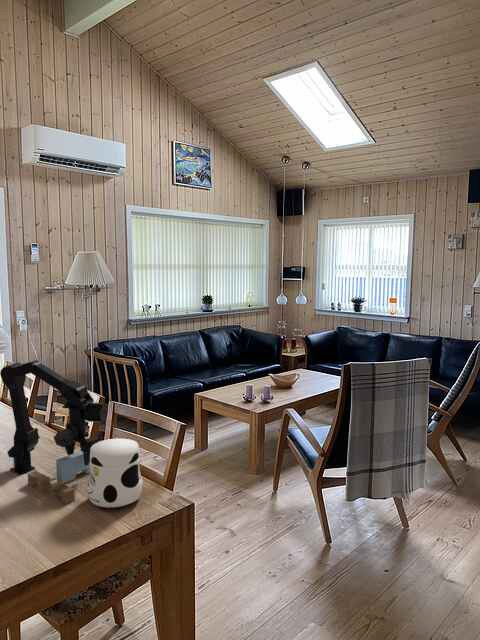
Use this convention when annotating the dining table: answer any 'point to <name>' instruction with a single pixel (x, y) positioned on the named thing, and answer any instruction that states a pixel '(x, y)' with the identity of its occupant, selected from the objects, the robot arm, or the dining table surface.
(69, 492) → the brown wooden bar
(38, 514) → the dining table surface
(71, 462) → the blue long flat plate
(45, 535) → the dining table surface
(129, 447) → the milk container
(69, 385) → the robot arm
